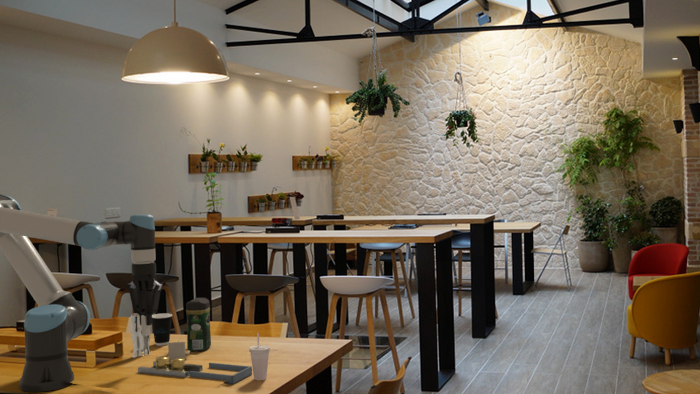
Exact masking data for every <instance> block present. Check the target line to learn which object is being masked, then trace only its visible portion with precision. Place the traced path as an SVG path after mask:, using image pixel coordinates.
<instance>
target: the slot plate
mask: <svg viewBox="0 0 700 394" xmlns="http://www.w3.org/2000/svg"><path fill="white" fill-rule="evenodd" d="M152 364H153V366H151V367H150V366H148V367H147V366H139V367H137V373H138V374H148V375H157V376H165V377H167V376H168V377H174V378H175V377H176V378H183V379H186V378H188V377H190V371H195V372H203V364H193V363H185V371H179V370H172V364H171V361H169V369H160V368H156V360H154V361H153V363H152Z"/></svg>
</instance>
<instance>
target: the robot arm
mask: <svg viewBox="0 0 700 394" xmlns="http://www.w3.org/2000/svg"><path fill="white" fill-rule="evenodd" d="M155 227H156V226H155V217H154V216H153V215H152V214H146V213H145V214H144V213H143V214H132V215H130V216H129V220H127V221H100V222H95V223H94V222H88V221H83V220H77V219H73V218H72V219H71V218H67V217H66V218H65V217H61V216H53V215H49V214H42V213H37V212H32V211H26V210H22V207H21V205H20V204H19V202H18V201H17V200H16V199H14V198H13V197H12V196H9V195H6V194H2V193H1V194H0V250H1V252H2V253H3V254H4V256H5V257H6V259H7V260H8V262H9V263H10V265H11V267H12V268H13V269H14V271H15V272H16V274H17V275H18V278H19V279H20V281H21V282H22V283H23V285H24V286H25V287H26V289H27V290H28V292H29V294H30V295H31V297H32V298H33V301H35V302H36V304H37V306H36V307H33V308H31V309H29V310H28V311H27V312H26V313H25V315H24V322H23V327H24V349H25V351H24V352H25V353H24V354H25V358H24V359H25V363H24V367H23V371H22V375H21V377H20V380H19V390H21V391H23V392H28V393H29V392H30V393H38V392H39V393H40V392H41V393H43V392H49V391H50V392H51V391H55V390H60V389H64V388H67V387H69V386H72V385H73V382H74V380H75V372H74V371H73V370H72V366H71V363H70V359H69V358H68V342H69V341H71V340H73V339H74V340H75V339H77V338H78V337H79V336H81V335H82V334H83V333H85V332H86V330H87V329H88V328H89V325H90V322H91V313H90V309H89V308H88V306H87V305H86V304H84V303H83V302H82V301H79V300H76V299H75V297H74V296H73V294H72V292H71V291H66V290H64V289H63V288H62V286H61V285H60V283H59V282H58V281H57V279H56V277H55V276H54V274H53V273H52V272H51V270H50V268H49V267H48V265H47V264H46V263H45V261H44V259H43V257H41V255H40V254H39V251H38V250H37V249H36V247H35V246H34V245H33V243H32V241H31V240H30V238H31V239H32V238H33V239H38V240H43V241H44V240H46V241H51V242H55V243H56V242H57V243H62V244H67V245H73V246H79V247H82V249H85V250H88V251H89V250H91V251H92V250H93V251H95V250H98V249H101V248H105V247H111V246H118V245H120V246H121V245H122V246H123V245H130V254H131V255H130V256H131V257H130V258H131V259H130V261H131V262H132V264H131V275H132V276H133V277H132V281H131V282H130V283H127V284H126V288H127V291H128V292H129V296H130V301H131V306H132V310H133V314H135V313H137V314H139V317H140V325H141V328H142V336H148V335H150V336H151V335H152V326H153V325H152V315H155V314H156V313H158V309H159V303H160V296H161V293H162V292H161V291H162V289H163V287H164V284H163V283H160V282H158V280H157V277H156V273H157V264H156V262H155V261H156V256H157V255H156V228H155Z"/></svg>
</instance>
